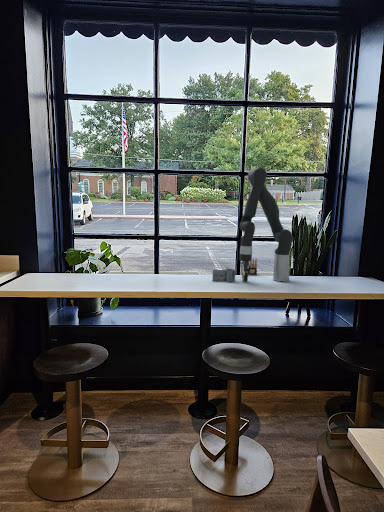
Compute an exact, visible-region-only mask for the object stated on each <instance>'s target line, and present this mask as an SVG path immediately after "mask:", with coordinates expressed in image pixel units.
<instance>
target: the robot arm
mask: <svg viewBox="0 0 384 512" xmlns="http://www.w3.org/2000/svg"><path fill="white" fill-rule="evenodd" d="M247 179H248V181H249V184H250V185H251V187H252V188H251V191H250V194H249V196H248V198H247V200H246V203H245V207H244V213H243V215H242V217H241V219H240V222H239V229H240V231H241V232H242V233H243V236H241V237H240V247H239V261H240V271H241V272H242V275H243V271H244V281H247V282H248V279H249V276H250V275H249V272H250V261H251V260H252V261H253V238H254V235H255V231H256V225H255V223H254V222H253V221H252V219H253V218H255V217H256V214H257V209H258V205H259V204H258V203H260V206H261V209H262V211H263V213H264V215H265V218H266V219H267V222H268V225H269V228H270V230H271V233H272V236H273V238H274V241H276V242H277V243H278V244H277V248H275V249H274V260H273V276H272V277H273V278H272V280H273V279H274V280H273V281H275V280H276V282H280V281H283V282H289V281H290V272H291V271H290V270H291V266H289V265H290V255H291V254H290V252H291V250H292V245H293V234H292V231H290V230H289V229H285V228H284V227H283V225H282V223H281V220H280V209H279V206H278V203H277V201H276V199H275V197H274V196H273V194H272V193H271V192H270V191H269V190H268V188H267V187H266V185H265V182H266V180H267V171H266V169H265V168H264V167H256V168H255V167H254V168H252V169H250V170H249V171H248V173H247ZM241 272H240V273H241ZM246 272H247V273H246ZM242 275H241V276H242Z"/></svg>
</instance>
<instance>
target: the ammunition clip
mask: <svg viewBox="0 0 384 512" xmlns="http://www.w3.org/2000/svg"><path fill="white" fill-rule="evenodd" d="M257 261H258V258H257V257H252V260H251V261H249V266H250V272H249V275H248V276H257V275H258V262H257ZM240 275H241V276H242V272H240Z"/></svg>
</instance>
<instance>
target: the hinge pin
mask: <svg viewBox="0 0 384 512" xmlns="http://www.w3.org/2000/svg"><path fill="white" fill-rule="evenodd" d="M246 273H247V272H246ZM241 282H242V283H247V282H248V281H244V271H243V275H241Z"/></svg>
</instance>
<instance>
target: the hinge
mask: <svg viewBox="0 0 384 512" xmlns="http://www.w3.org/2000/svg"><path fill="white" fill-rule="evenodd" d="M212 282H227V283H235V282H236V269H233V268H229V267H228V266H225V268H224V269H212Z"/></svg>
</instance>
